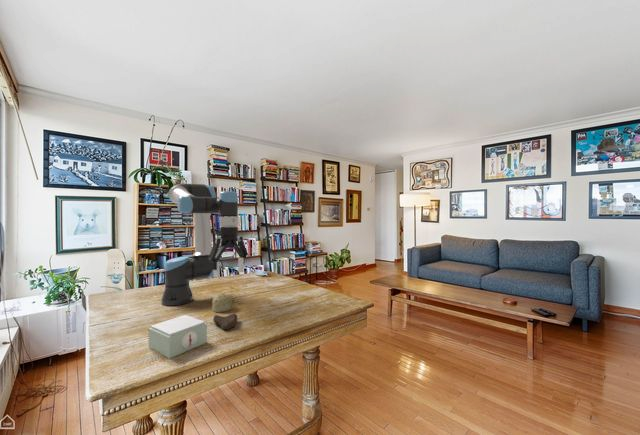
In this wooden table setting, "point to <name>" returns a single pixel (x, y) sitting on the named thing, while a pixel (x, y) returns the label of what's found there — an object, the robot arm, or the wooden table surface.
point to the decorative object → (221, 302)
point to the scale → (177, 335)
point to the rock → (226, 321)
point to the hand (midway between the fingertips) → (229, 274)
